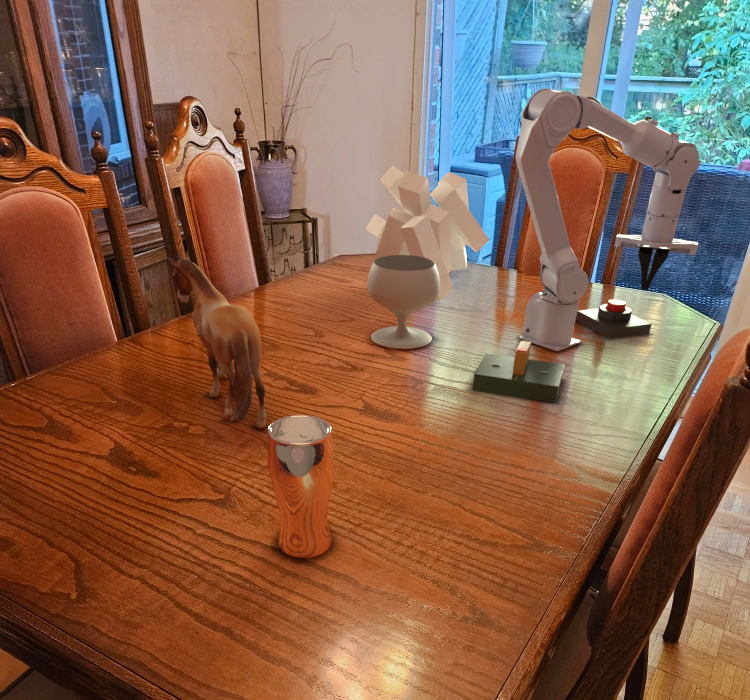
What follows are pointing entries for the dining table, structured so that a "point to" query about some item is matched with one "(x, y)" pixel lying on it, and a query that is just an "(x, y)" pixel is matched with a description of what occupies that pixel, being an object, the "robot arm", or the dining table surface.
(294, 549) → the beer glass
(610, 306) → the red button
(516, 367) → the upright orange tab
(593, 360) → the dining table surface
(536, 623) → the dining table surface
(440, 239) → the pile of blocks
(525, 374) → the switch panel
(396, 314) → the chalice
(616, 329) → the switch block
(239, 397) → the horse figurine
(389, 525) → the dining table surface
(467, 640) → the dining table surface
